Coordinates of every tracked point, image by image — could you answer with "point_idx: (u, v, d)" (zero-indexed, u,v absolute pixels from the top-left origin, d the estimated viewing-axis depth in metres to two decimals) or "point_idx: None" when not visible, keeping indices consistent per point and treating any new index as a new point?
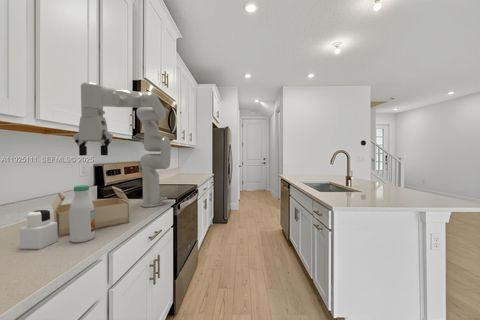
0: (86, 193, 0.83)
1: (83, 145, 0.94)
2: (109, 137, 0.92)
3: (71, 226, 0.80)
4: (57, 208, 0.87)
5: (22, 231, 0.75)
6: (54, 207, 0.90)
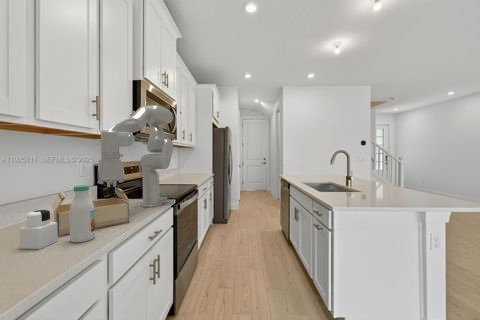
0: (86, 193, 0.83)
1: None
2: (120, 181, 1.09)
3: (71, 226, 0.80)
4: (57, 208, 0.87)
5: (22, 231, 0.75)
6: (54, 207, 0.90)
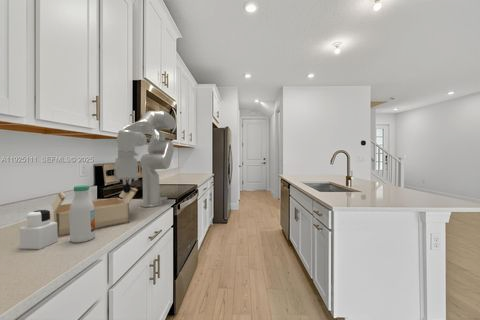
0: (86, 193, 0.83)
1: None
2: (135, 179, 1.13)
3: (71, 226, 0.80)
4: (57, 208, 0.87)
5: (22, 231, 0.75)
6: (54, 207, 0.90)
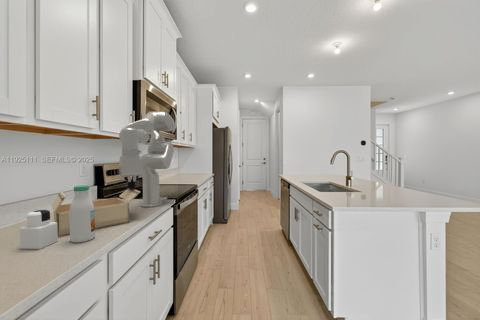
0: (86, 193, 0.83)
1: (130, 179, 1.13)
2: (139, 176, 1.15)
3: (71, 226, 0.80)
4: (57, 208, 0.87)
5: (22, 231, 0.75)
6: (54, 207, 0.90)
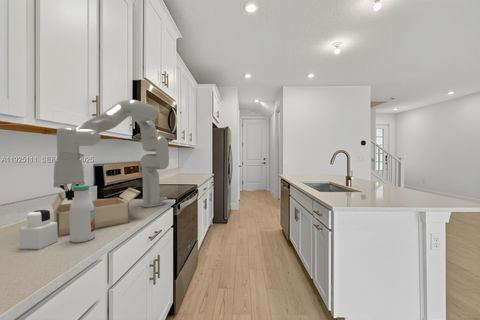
0: (86, 193, 0.83)
1: None
2: (81, 184, 0.98)
3: (71, 226, 0.80)
4: (57, 208, 0.87)
5: (22, 231, 0.75)
6: (54, 207, 0.90)
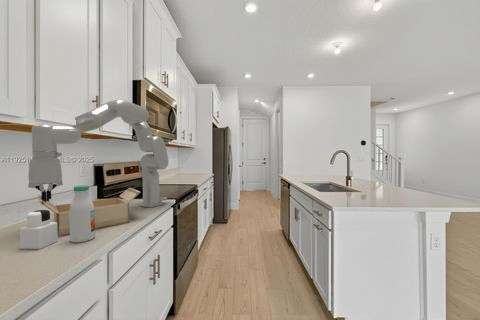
0: (86, 193, 0.83)
1: None
2: (59, 184, 0.93)
3: (71, 226, 0.80)
4: (51, 209, 0.86)
5: (22, 231, 0.75)
6: None
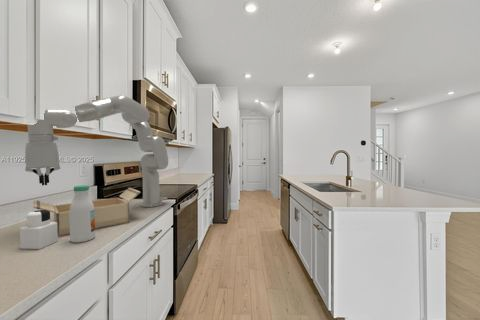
0: (86, 193, 0.83)
1: None
2: (56, 168, 0.93)
3: (71, 226, 0.80)
4: (50, 210, 0.86)
5: (22, 231, 0.75)
6: None
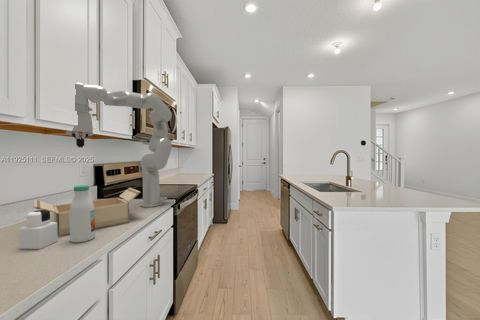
0: (86, 193, 0.83)
1: None
2: (90, 134, 1.11)
3: (71, 226, 0.80)
4: (50, 210, 0.86)
5: (22, 231, 0.75)
6: None
